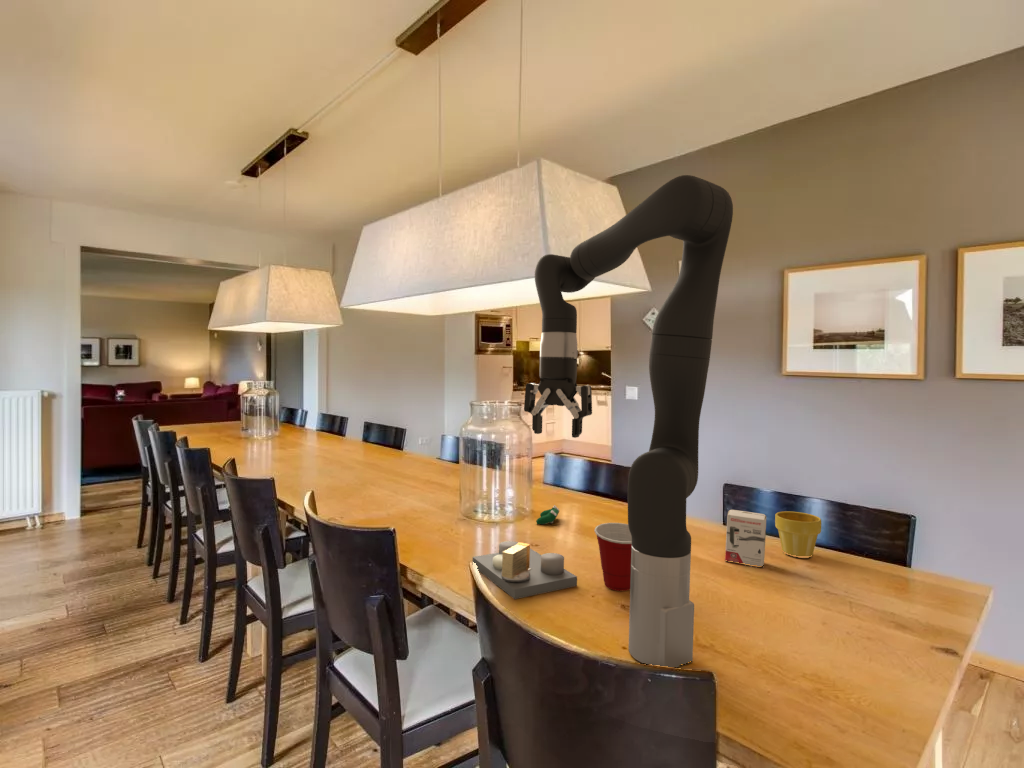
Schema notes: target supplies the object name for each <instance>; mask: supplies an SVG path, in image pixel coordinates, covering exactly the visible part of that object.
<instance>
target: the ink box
mask: <svg viewBox="0 0 1024 768" xmlns="http://www.w3.org/2000/svg"><path fill="white" fill-rule="evenodd" d="M725 533H726V535H725V536H726V537H725V552H724V553H725V555H724V557H725V558H724V561H725V560H727V561H733V562H739V563H745V564H750V565H757V566H763V565H764V566H765V552H766V534H767V515H765V514H764V513H759V512H751V511H745V510H738V509H730V510H728V511H727V517H726V532H725ZM764 566H763V567H764Z"/></svg>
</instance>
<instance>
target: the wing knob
mask: <svg viewBox="0 0 1024 768" xmlns="http://www.w3.org/2000/svg"><path fill="white" fill-rule="evenodd" d="M530 545H531V544H529V543H525V542H518V543H517V544H516V545H514V546H513V547H511V548H509V549H507V550H505V551H503V556H502V571H501V577H502V579H503V580H505V581H508V582H515V583H518V582H525V581H527V580H529V579H530V571H529V570H528V569H529V567H530V549H531V546H530Z"/></svg>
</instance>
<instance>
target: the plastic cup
mask: <svg viewBox="0 0 1024 768" xmlns="http://www.w3.org/2000/svg"><path fill="white" fill-rule="evenodd" d="M594 533H595V535H596V539H597V544H598V551H599V558H600V564H601V570H602V577H603V582H604V586H605V587H606V588H608V589H610V590H613V591H616V592H617V591H618V592H626V591H630V581H631V550H632V536H631V533H630V530H629V526H628V523H622V522H605V523H600V524H598V525H597V526H595V528H594Z"/></svg>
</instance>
